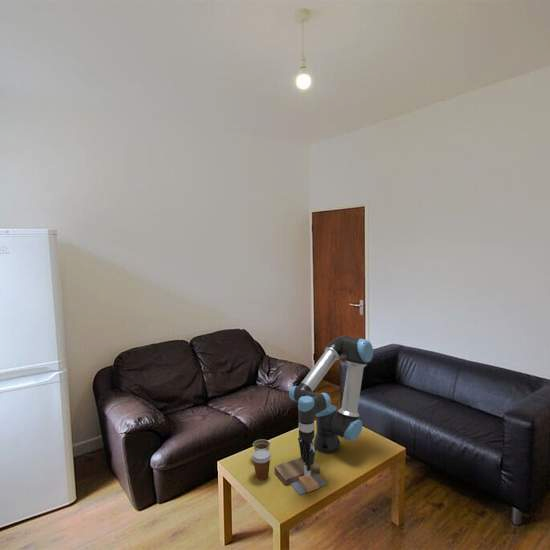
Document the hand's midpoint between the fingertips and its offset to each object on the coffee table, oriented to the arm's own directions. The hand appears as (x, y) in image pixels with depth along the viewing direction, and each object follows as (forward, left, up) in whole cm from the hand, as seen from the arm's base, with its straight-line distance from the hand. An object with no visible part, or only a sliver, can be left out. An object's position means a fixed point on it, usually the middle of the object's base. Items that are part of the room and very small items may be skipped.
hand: (307, 475), depth 176 cm
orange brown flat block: (0, +1, -4) cm, 4 cm away
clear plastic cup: (+11, -29, -5) cm, 31 cm away
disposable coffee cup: (+17, -16, -5) cm, 24 cm away
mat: (0, +1, -4) cm, 4 cm away
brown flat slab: (0, -10, -4) cm, 11 cm away
